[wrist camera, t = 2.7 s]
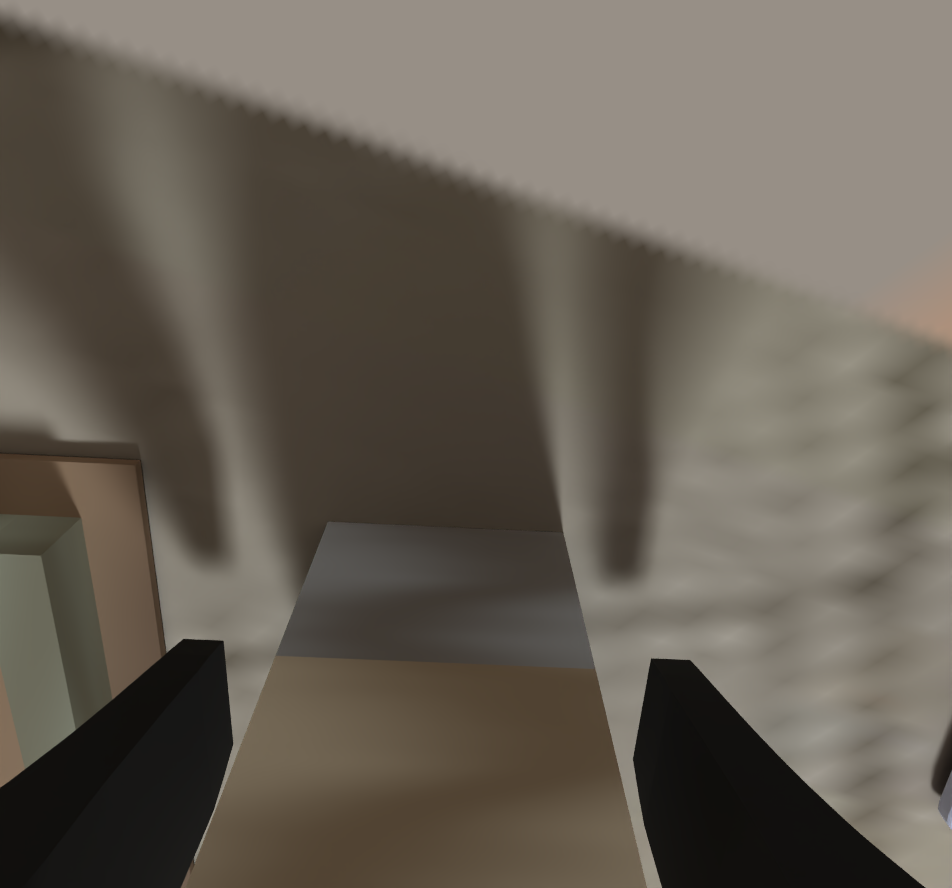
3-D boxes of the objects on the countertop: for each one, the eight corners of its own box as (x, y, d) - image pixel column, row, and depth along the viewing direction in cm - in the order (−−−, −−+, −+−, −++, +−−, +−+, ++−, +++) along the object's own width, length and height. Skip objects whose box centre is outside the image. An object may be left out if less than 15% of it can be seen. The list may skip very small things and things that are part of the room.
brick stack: (562, 532, 12) (662, 956, 6) (542, 715, 14) (603, 1214, 7) (327, 521, 12) (164, 941, 6) (332, 707, 14) (208, 1204, 7)
